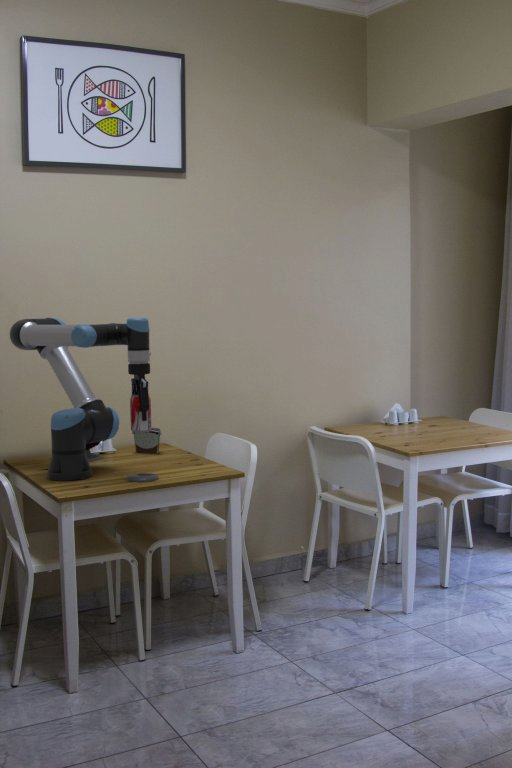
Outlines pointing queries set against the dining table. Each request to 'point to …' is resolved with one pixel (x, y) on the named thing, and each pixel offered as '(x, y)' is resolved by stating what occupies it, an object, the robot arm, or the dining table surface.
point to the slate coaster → (142, 477)
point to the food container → (147, 441)
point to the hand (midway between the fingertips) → (140, 428)
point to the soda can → (135, 414)
